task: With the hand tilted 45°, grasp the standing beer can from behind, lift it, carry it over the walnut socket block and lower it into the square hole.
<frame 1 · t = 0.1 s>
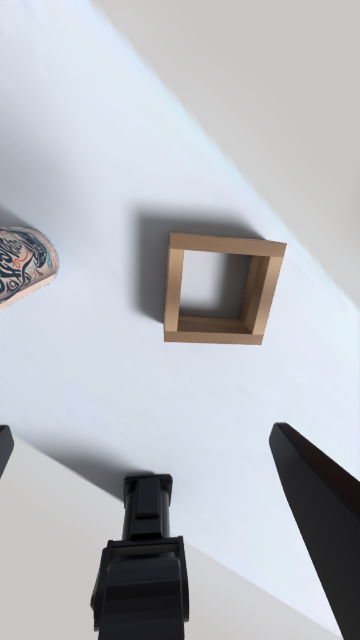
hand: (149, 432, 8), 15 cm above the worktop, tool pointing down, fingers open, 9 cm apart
socket block: (212, 284, 21), on the worktop
beer can: (32, 257, 19), on the worktop
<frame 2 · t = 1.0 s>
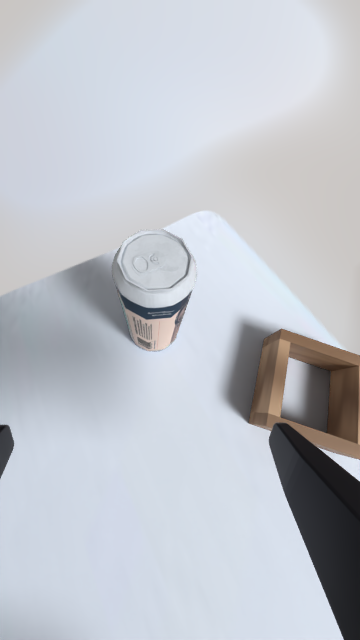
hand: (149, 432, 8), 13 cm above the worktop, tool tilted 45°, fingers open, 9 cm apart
socket block: (297, 392, 23), on the worktop
beer can: (153, 330, 23), on the worktop
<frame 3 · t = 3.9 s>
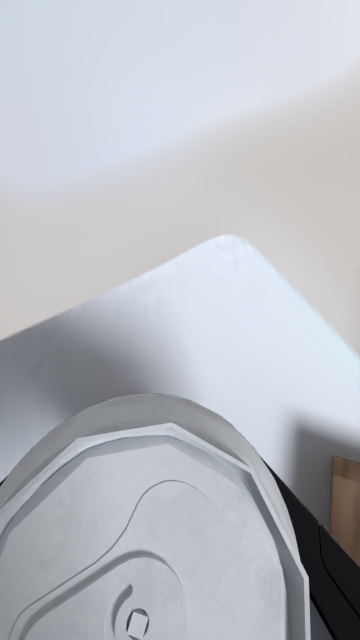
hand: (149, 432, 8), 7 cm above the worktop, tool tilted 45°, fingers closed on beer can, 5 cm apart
beer can: (149, 447, 14), on the worktop, touching gripper
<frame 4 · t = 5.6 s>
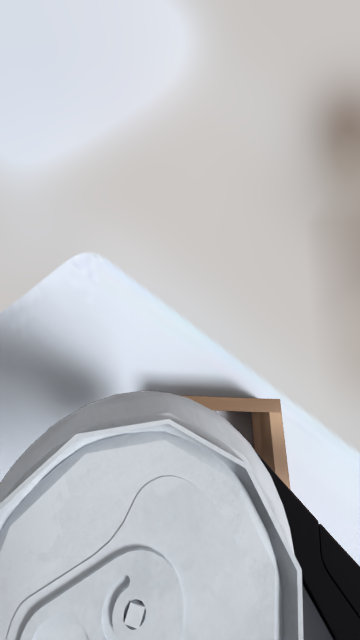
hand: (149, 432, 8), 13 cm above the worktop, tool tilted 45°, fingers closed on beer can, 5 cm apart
socket block: (218, 450, 20), on the worktop
beer can: (148, 445, 14), point 6 cm above the worktop, touching gripper
when the fingers open (8 cm above the worktop, at t = 7.6 s): beer can drops 1 cm, resting in socket block.
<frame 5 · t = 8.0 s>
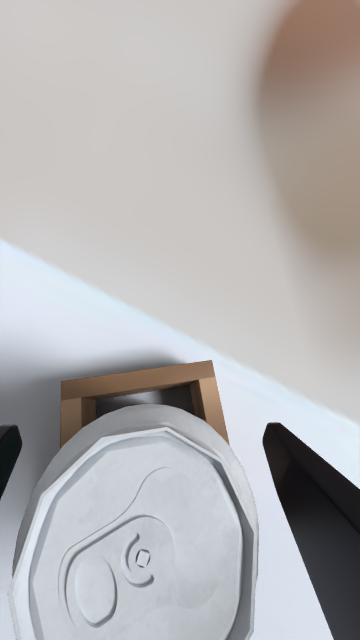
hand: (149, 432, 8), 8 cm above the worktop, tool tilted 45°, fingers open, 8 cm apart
socket block: (149, 444, 15), on the worktop
beer can: (149, 446, 15), resting in socket block
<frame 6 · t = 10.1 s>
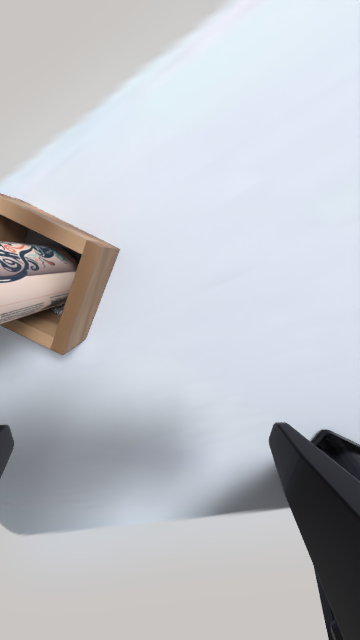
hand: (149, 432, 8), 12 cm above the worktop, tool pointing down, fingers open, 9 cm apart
socket block: (55, 274, 19), on the worktop
beer can: (58, 275, 19), resting in socket block
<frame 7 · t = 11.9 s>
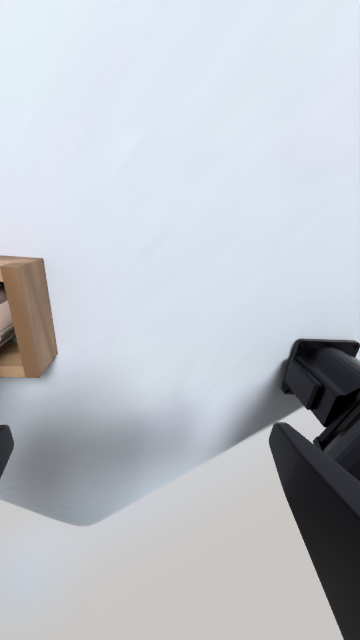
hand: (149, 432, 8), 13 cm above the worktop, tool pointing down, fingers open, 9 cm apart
beer can: (0, 307, 19), resting in socket block
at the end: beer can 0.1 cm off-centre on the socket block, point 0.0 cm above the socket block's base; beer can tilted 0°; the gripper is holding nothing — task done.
